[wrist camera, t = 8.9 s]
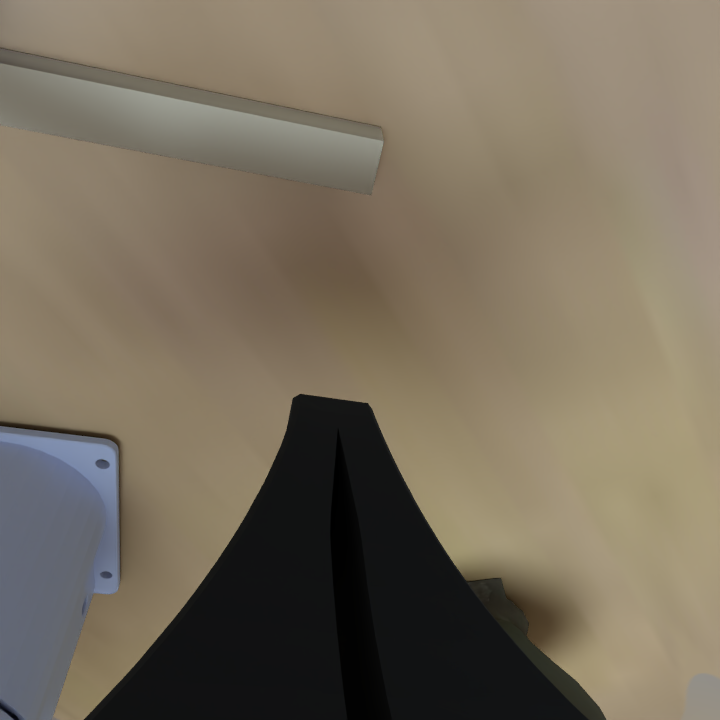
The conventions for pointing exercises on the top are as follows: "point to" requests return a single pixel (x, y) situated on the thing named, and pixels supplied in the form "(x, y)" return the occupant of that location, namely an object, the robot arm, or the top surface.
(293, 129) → the guide channel
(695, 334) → the top surface
